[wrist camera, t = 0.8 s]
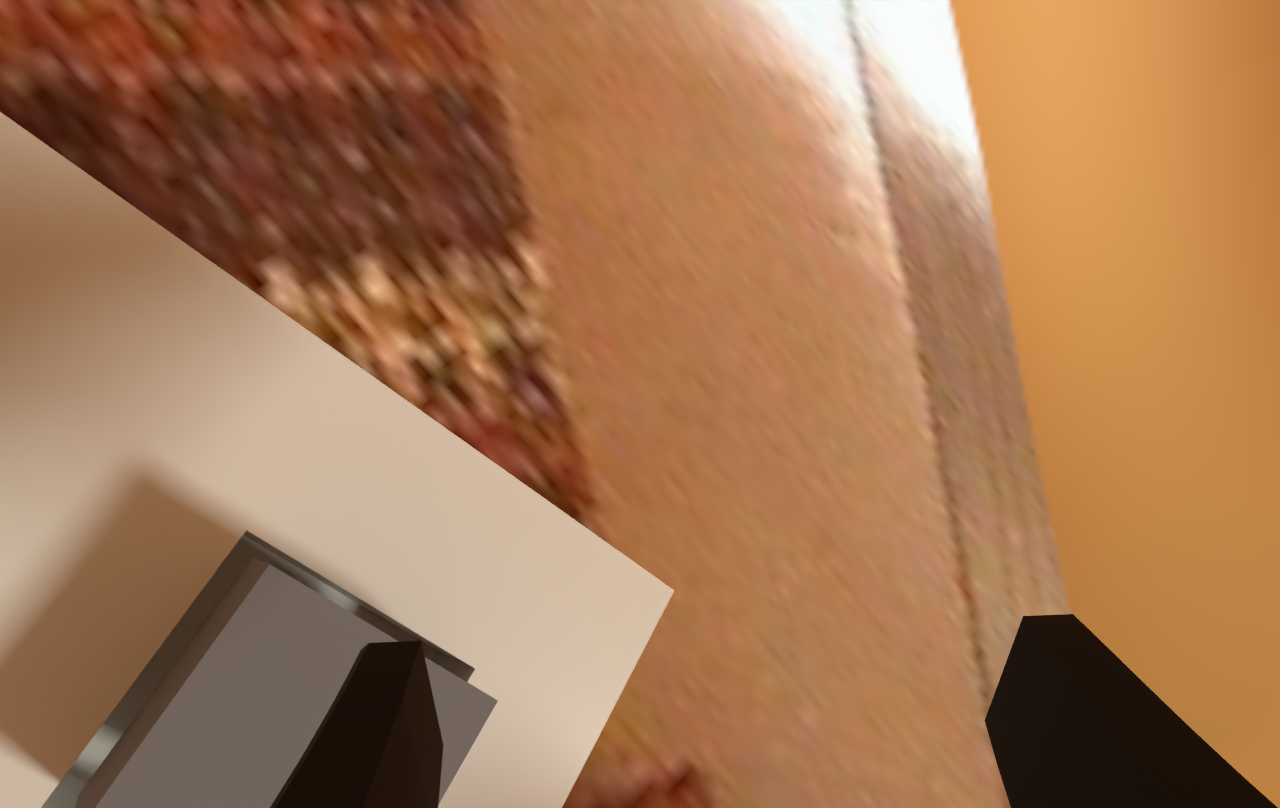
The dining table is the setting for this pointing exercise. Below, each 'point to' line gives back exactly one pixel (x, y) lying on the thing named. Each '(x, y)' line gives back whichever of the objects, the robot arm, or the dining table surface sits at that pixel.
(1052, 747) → the robot arm
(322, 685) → the charcoal key
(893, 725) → the dining table surface
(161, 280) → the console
